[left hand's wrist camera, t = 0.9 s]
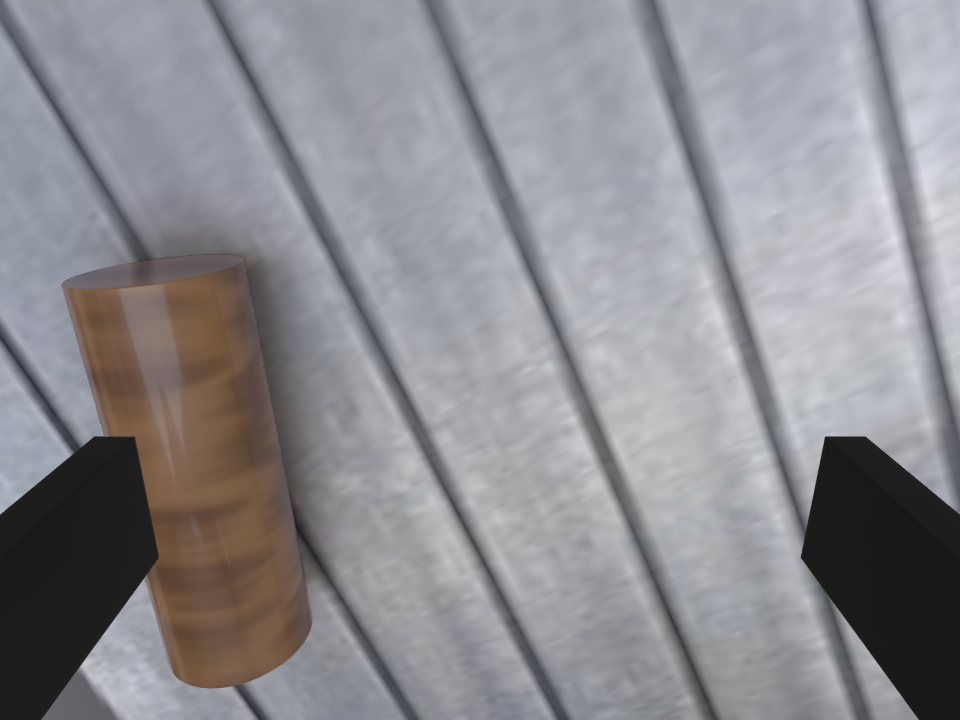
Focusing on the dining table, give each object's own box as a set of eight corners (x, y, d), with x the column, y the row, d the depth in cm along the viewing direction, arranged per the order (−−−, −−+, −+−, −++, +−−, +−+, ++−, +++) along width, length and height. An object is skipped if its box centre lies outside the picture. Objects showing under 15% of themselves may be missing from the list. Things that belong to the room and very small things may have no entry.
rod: (116, 261, 39) (20, 295, 31) (264, 249, 39) (208, 280, 31) (201, 594, 47) (142, 693, 38) (325, 585, 47) (293, 683, 38)
